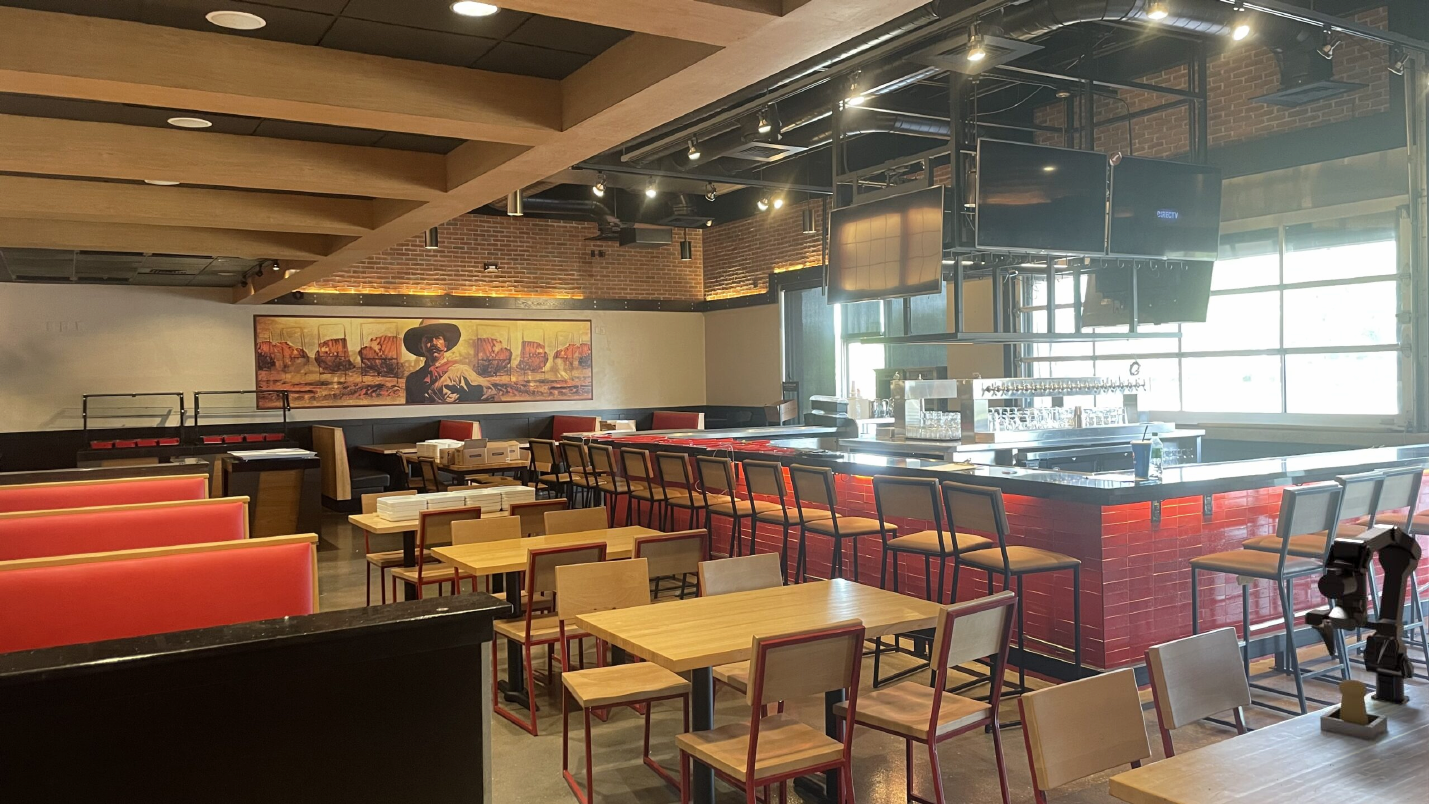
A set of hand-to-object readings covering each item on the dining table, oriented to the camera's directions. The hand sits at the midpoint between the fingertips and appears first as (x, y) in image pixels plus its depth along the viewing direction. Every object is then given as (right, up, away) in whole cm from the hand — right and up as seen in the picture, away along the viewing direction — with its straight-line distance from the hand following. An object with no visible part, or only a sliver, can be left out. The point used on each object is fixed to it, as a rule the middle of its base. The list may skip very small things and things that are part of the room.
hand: (1353, 659), depth 226 cm
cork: (-6, -14, -9) cm, 17 cm away
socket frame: (-6, -13, -9) cm, 17 cm away
